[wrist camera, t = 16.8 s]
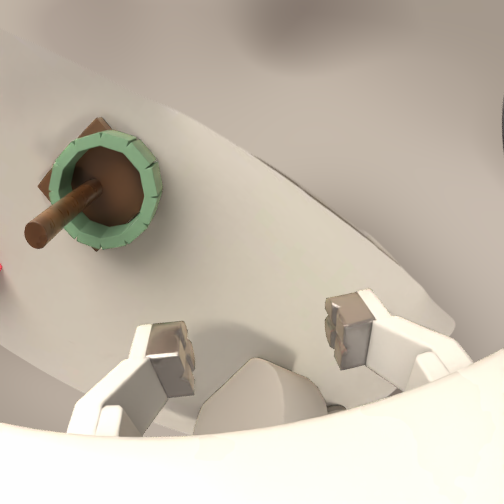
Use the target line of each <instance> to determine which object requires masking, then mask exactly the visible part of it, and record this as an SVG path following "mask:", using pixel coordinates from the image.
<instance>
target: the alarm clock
mask: <svg viewBox="0 0 504 504" xmlns="http://www.w3.org/2000/svg"><path fill="white" fill-rule="evenodd" d="M324 415H328V412H327V407H326V402H325V400H324V398H323V396H322V394H321V392H320V390H319V388H318V387H317V386H316V385H315V384H314V383H313V382H312V381H311V380H310V379H308V378H307V377H304V376H302V375H299V374H297V373H295V372H292V371H290V370H287V369H285V368H283V367H280V366H278V365H276V364H273V363H271V362H269V361H266V360H264V359H261V358H251V359H250V360H249V361H248V362H247V363H246V364H245V365H244V366H243V367H242V368H241V369H240V370H239V371H238V372H236V373H235V374H234V375H233V376H232V377H231V378H230V379H229V380H228V381H227V382H226V383H225V384H224V385H223V386H222V387H221V388H220V389H219V390H218V391H216V392H215V393H214V394H213V395H212V396H211V397H210V398H209V399H208V400H207V401H206V402H205V403H204V404H203V406H202V408H201V410H200V412H199V415H198V418H197V421H196V424H195V427H194V431H193V435H204V434H215V433H225V432H234V431H242V430H249V429H256V428H263V427H269V426H275V425H281V424H286V423H291V422H297V421H301V420H306V419H311V418H315V417H320V416H324Z"/></svg>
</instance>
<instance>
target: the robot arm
mask: <svg viewBox="0 0 504 504" xmlns="http://www.w3.org/2000/svg"><path fill="white" fill-rule="evenodd" d="M325 310H326V312H327V314H328V316H327V317H326V319H325V332H326V337H327V341H328V343H329V346H330V347H331V348H333V349H335V351H334V357H335V359H336V361H337V364H338V366H339V368H340V370H345V369H350V368H354V367H358V366H362V365H365V366H366V367H368V368H369V369H371V370H372V371H374V372H375V373H376V374H378V375H379V376H381V377H382V378H384V379H385V380H387V381H388V382H390V383H391V384H393V385H394V386H396V387H397V388H399V389H400V390H402V391H403V393H400V394H397V395H394V396H391V397H388V398H385V399H382V400H378V401H375V402H372V403H369V404H365V405H362V406H358V407H355V408H351V409H348V410H344V411H340V412H336V413H332V414H328V415H324V416H320V417H315V418H311V419H306V420H301V421H297V422H291V423H286V424H281V425H275V426H269V427H263V428H256V429H249V430H242V431H234V432H225V433H215V434H204V435H190V436H172V437H143V434H144V433H145V431H146V430H147V429H148V427H149V426H150V424H151V423H152V422H153V420H154V419H155V417H156V416H157V415H158V413H159V412H160V410H161V409H162V408H163V406H164V405H165V403H166V402H167V401H168V398H171V397H181V396H190V395H194V384H195V379H194V376H193V373H192V372H193V371H194V369H195V357H194V350H193V346H192V343H191V341H190V340H189V339H187V334H188V330H187V327H186V324H185V322H184V321H176V322H165V323H155V324H146V325H139V326H138V327H137V328H136V332H135V335H134V339H133V342H132V346H131V350H130V353H129V357H128V360H123V361H122V362H121V363H120V364H119V365H117V366H116V367H115V368H114V369H113V370H112V371H111V372H110V373H109V374H107V375H106V376H105V377H104V378H103V379H102V380H101V381H100V382H99V383H98V384H96V385H95V386H94V387H93V388H92V389H91V390H90V391H89V392H88V393H87V394H85V395H84V396H83V397H82V398H81V399H80V400H79V401H78V402H77V403H76V404H75V407H74V410H73V413H72V417H71V420H70V423H69V426H68V429H67V433H61V432H53V431H46V430H39V429H33V428H27V427H22V426H16V425H10V424H6V423H1V422H0V504H504V348H503V349H501V350H499V351H497V352H495V353H493V354H491V355H490V356H487V357H485V358H483V359H481V360H479V361H477V362H475V363H474V362H473V361H472V359H471V358H470V357H469V356H468V354H467V353H466V352H465V351H464V349H463V348H462V347H461V346H460V344H459V343H458V342H457V341H456V340H455V339H452V338H450V337H448V336H445V335H443V334H440V333H438V332H435V331H433V330H430V329H428V328H426V327H423V326H421V325H418V324H416V323H413V322H411V321H409V320H406V319H404V318H401V317H399V316H392V315H391V314H390V313H389V311H388V310H387V309H386V307H385V306H384V305H383V304H382V302H381V301H380V300H379V298H378V297H377V296H376V295H375V293H374V292H373V291H372V290H371V289H365V290H361V291H356V292H354V293H350V294H345V295H340V296H335V297H330V298H326V301H325Z"/></svg>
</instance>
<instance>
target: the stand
mask: <svg viewBox="0 0 504 504" xmlns="http://www.w3.org/2000/svg"><path fill="white" fill-rule="evenodd" d="M106 130H112V129H111V128H110V127H109V125H108V124H107V123H106V122H105V121H104V119H103V118H102V117H100V118H96V119H95V120H94V121H93V122H92V123H91V124H90V125H89V126H88V127H87V128H86V129H85V130H84V131H83V133H82V134H81V135H80V136H79V137H78V138H82V137H85V136H88V135H91V134H95V133H98V132H102V131H106ZM78 138H77V139H78ZM55 164H56V163H55ZM52 169H53V167H52V168H51V170H50V171H49V172H48V173H47V175H46V176H45V177H44V178H43V180H42V181H41V182H40V184H39V185H38V188H39V189H40V190H41V191H42V192H43V194H44V195H45V196H46V197H47V198H48V200H49V201H50V202H51V200H50V197H49V193H50V192H51V191H50V190H49V184H50V179H51V174H52ZM71 187H72V192H70V193H69V194H67V195H66V196H64V197H63V198H61V199H60V200H59V201H57V202H56V203H54V204H53V205H52V206H50V207H49V208H47V209H46V210H45V211H43V212H42V213H41V214H39V215H38V216H37V217H35V218H34V219H33V220H31V221H30V222H29V223H28V224H27V225H26V227H25V232H24V233H25V238H26V240H27V242H28V243H29V245H30V246H32V247H33V248H36V249H41V248H43V247H44V246H45V245H46V244H47V243H48V242H49V241H50V240H51V239H53V238H54V237H55V236H56V235H57V234H58V233H59V232H60V231H61V230H62V229H63V228H64V227H65V226H66V225H67V224H68V223H69V222H71V221H72V220H73V219H74V218H75V217H76V216H77V215H78V214H79V213H80V212H83V213H84V214H85V215H86V216H87V217H88V219H89V220H91V221H93V222H96V223H99V224H102V225H105V226H108V227H112V226H117V225H123V224H126V223H127V222H128V221H129V220H131V219H132V218H133V217H134V216H135V215H136V214H137V213H138V212H139V211H140V210H141V207H142V203H143V200H144V197H145V196H144V191H143V187H142V182H141V177H140V172H139V171H138V170H137V169H136V167H135V166H134V165H133V164H132V163H131V162H130V160H129V159H128V158H127V157H126V156H125V155H124V154H123V153H121V152H118V151H115V150H112V149H109V148H106V147H103V146H98V147H94V148H90V149H88V150H87V151H86V153H85V154H84V155H83V156H82V157H81V158H80V159H79V160H78V161H77V162H76V164H75V168H74V172H73V177H72V181H71ZM162 190H163V188H162ZM92 248H93V249H94V250H95V251H96V252H97V251H98V250H99V249H97V248H94V247H92Z"/></svg>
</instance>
